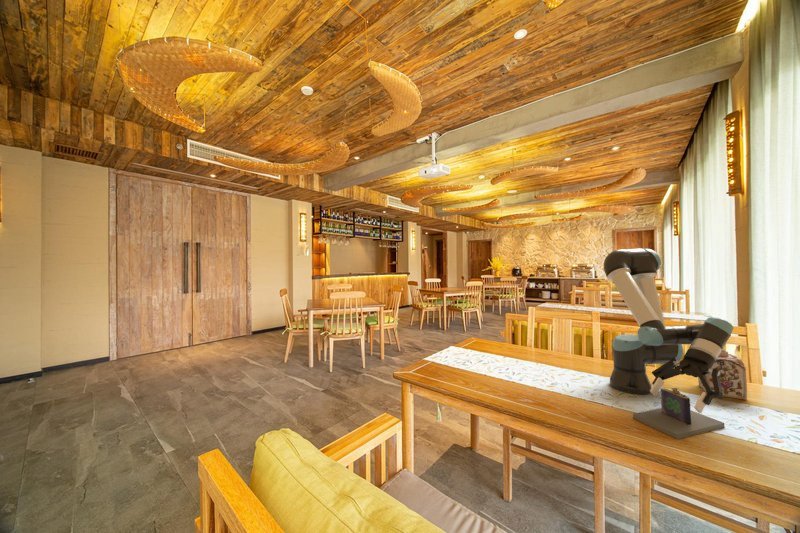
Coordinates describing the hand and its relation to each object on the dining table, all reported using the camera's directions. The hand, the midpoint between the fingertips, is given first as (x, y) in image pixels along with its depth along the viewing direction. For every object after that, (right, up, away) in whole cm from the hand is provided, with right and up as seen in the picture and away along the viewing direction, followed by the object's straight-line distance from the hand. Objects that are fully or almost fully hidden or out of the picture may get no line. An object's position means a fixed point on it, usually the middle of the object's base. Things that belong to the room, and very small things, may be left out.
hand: (673, 401), depth 103 cm
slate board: (+2, -8, 0) cm, 8 cm away
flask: (+1, -6, 0) cm, 6 cm away
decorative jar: (+41, -6, +22) cm, 47 cm away
